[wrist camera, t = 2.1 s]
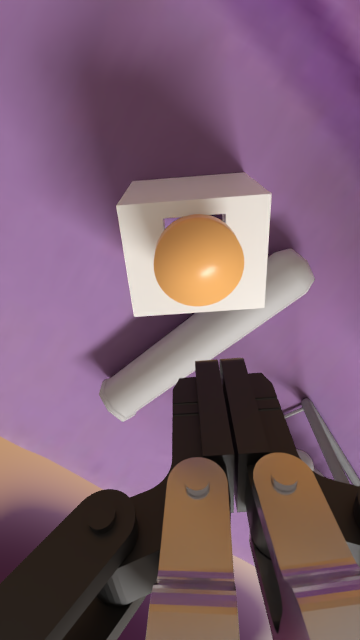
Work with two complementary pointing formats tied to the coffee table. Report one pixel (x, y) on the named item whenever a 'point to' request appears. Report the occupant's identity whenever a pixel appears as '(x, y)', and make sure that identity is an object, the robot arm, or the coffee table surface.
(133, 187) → the housing
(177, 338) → the tube
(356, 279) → the coffee table surface
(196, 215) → the orange rounded lump
